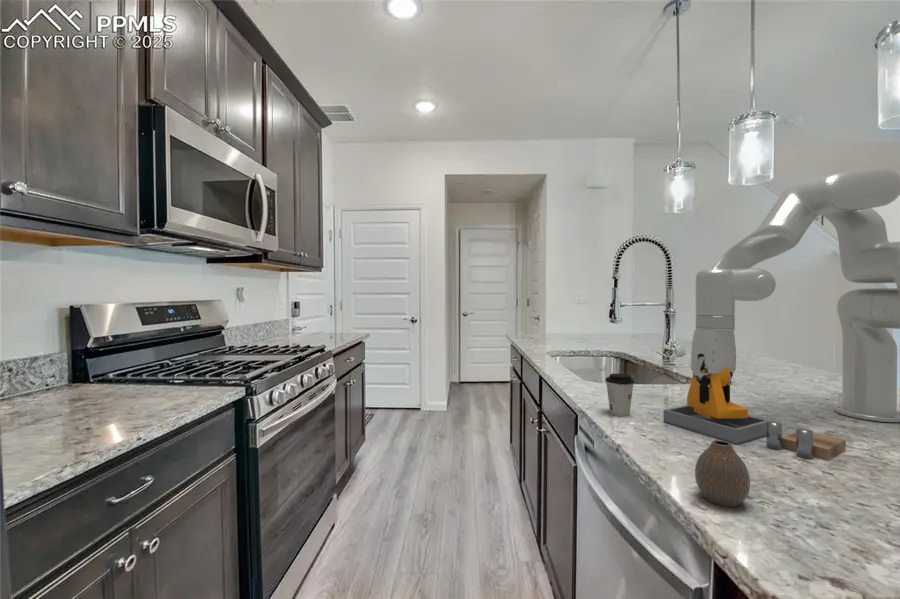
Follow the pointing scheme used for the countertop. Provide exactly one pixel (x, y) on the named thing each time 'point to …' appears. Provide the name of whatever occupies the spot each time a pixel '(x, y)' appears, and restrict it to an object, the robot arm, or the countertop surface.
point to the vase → (722, 475)
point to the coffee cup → (619, 394)
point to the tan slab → (818, 445)
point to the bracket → (715, 399)
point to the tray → (717, 425)
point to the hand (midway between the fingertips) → (714, 401)
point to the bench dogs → (802, 439)
